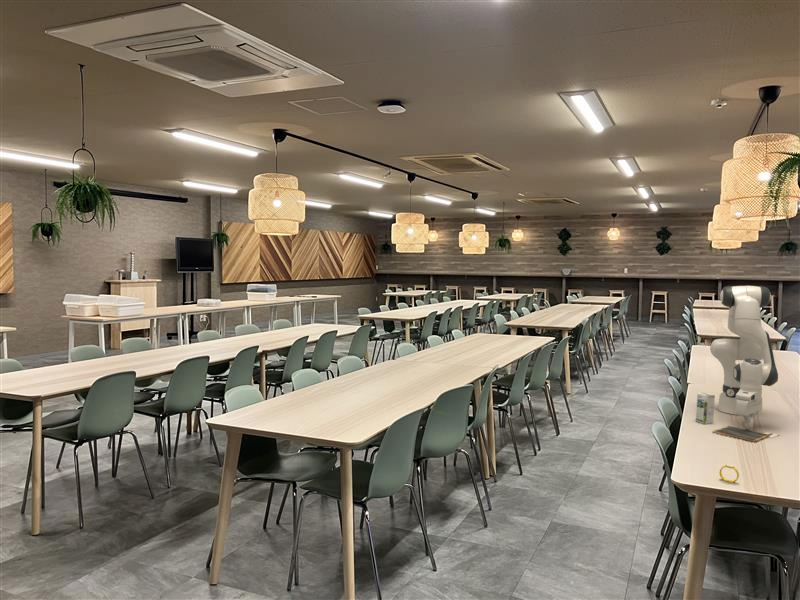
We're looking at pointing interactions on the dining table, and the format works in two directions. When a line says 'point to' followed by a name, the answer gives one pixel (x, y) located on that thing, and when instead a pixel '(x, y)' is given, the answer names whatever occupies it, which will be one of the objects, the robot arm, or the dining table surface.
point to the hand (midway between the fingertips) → (748, 422)
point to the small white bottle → (750, 425)
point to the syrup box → (705, 408)
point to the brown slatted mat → (741, 434)
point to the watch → (729, 467)
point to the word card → (771, 434)
